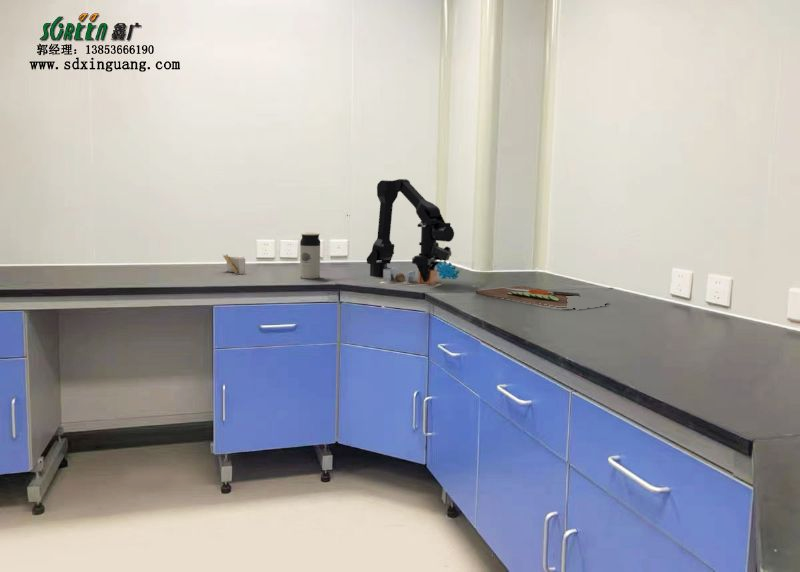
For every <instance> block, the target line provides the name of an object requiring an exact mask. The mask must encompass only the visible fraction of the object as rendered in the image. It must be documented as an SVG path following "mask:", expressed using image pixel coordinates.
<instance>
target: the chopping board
mask: <svg viewBox="0 0 800 572" xmlns="http://www.w3.org/2000/svg"><path fill="white" fill-rule="evenodd" d="M475 295H480V296H483V297H484V296H485V297H489V296H491V297H490V298H494V297H497V298H496V299H499V298H504V299H510V300H515V301H520V302H526V303H531V304H537V305H542V306H549V305H553V306H550V307H555V306H567V303H568V302H567V299H568V298H567V297H566V296H581V294H580V293H577V292H576V293H575V292H565V291H555V290H554V291H553V290H549V289H544V288H543V289H542V288H536V287H532V286H525V285H524V286H523V285H522V286H521V285H520V286H519V285H518V286H502V287H501V286H500V287H493V288H482V289H478V290H476V291H475ZM534 302H535V303H534ZM539 303H541V304H539ZM544 304H547V305H544ZM556 308H567V307H556Z"/></svg>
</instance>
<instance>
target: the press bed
mask: <svg viewBox="0 0 800 572" xmlns="http://www.w3.org/2000/svg"><path fill="white" fill-rule="evenodd" d="M379 284H388V285H396V286H397V285H398V286H411V287H423V288H432V289H434V288H437V287H439V286H441V285H444V282H443V281H437V283H436V284H434V285H430V284H418V282H411V283H405V279H404V281H403V282H398V281H395V282H389V283H384V282H383V281H381V282H379Z"/></svg>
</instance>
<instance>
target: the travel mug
mask: <svg viewBox="0 0 800 572" xmlns="http://www.w3.org/2000/svg"><path fill="white" fill-rule="evenodd" d="M300 235H301V239H300V242H299V248H300V249H299V250H300V251H299V277H300V278H302V279H304V280H305V279H308V280H310V279H311V280H313V279H315V278H316V279H319V278H321V240H320V238H319V237H320V233H319V232H301V233H300Z"/></svg>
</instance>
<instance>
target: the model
mask: <svg viewBox="0 0 800 572" xmlns="http://www.w3.org/2000/svg"><path fill="white" fill-rule="evenodd" d="M222 256H223V258H224V260H225V261H226V272H230V273H235V274H239V275H244V274H246V258H245V256H240V255H239V256H229V255H228V254H227V253H226V255H224V254H222Z"/></svg>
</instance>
